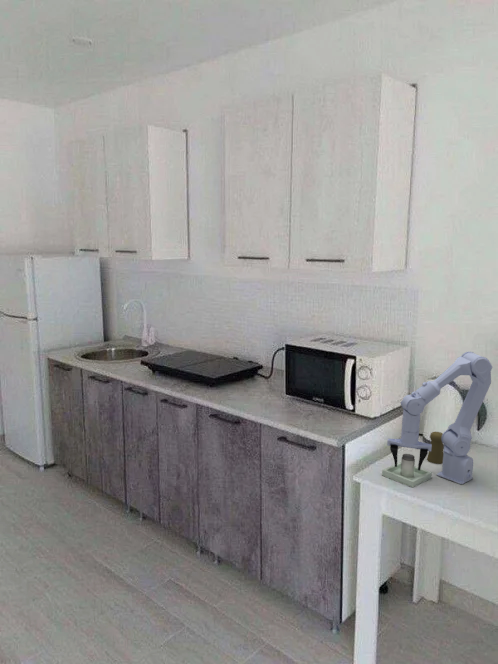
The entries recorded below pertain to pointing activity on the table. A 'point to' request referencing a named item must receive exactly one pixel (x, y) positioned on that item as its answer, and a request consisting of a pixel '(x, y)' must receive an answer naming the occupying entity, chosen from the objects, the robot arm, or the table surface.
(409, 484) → the tray
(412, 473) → the salt shaker
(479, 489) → the table surface
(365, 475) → the table surface
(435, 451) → the cork
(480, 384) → the robot arm
